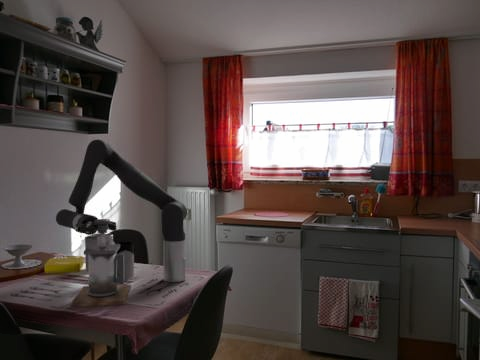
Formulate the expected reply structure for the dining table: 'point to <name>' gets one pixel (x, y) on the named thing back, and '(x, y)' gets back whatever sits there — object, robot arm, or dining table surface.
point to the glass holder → (126, 260)
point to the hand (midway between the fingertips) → (104, 229)
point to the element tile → (64, 265)
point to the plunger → (102, 230)
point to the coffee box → (89, 241)
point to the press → (104, 270)
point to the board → (116, 299)
